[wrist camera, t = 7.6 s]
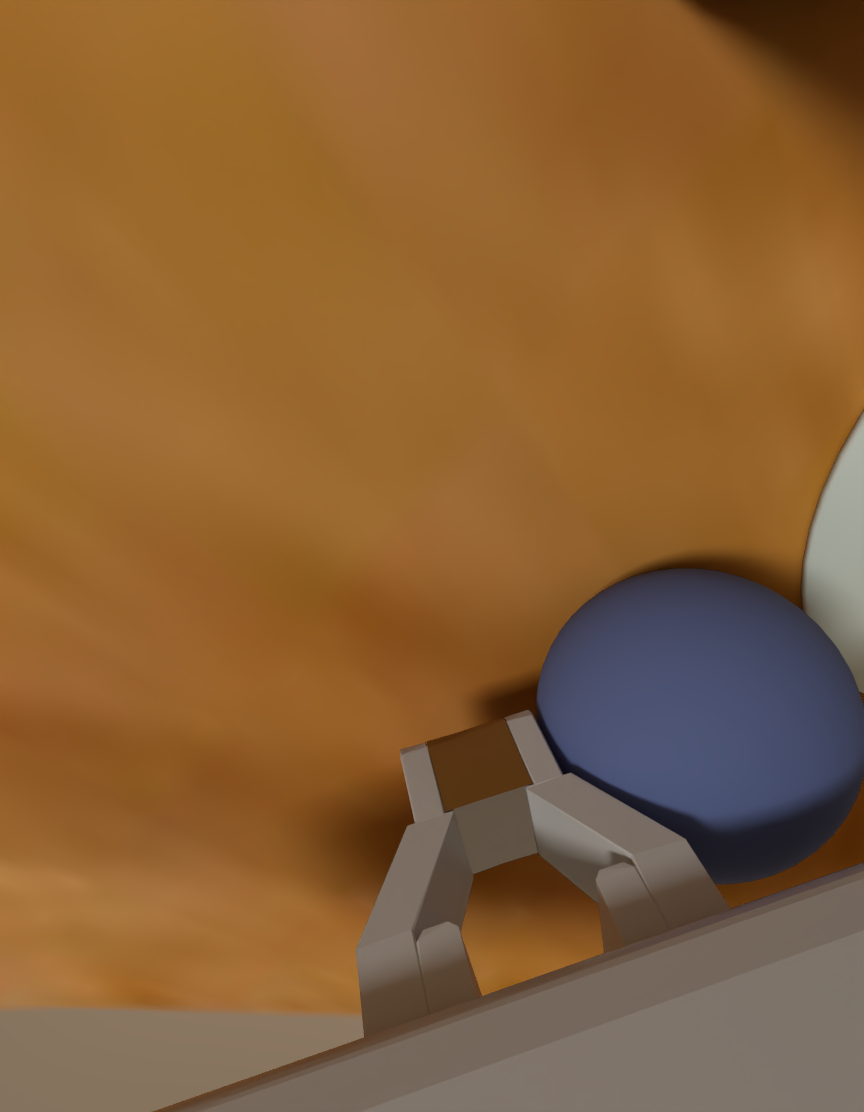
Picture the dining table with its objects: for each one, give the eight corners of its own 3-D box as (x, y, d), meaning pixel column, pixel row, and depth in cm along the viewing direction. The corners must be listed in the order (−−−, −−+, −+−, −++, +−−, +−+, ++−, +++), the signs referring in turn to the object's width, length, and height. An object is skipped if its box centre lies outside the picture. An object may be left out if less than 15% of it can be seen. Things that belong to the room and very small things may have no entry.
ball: (527, 521, 13) (834, 494, 11) (560, 692, 16) (801, 691, 14) (495, 758, 9) (975, 772, 7) (549, 922, 12) (885, 958, 10)
